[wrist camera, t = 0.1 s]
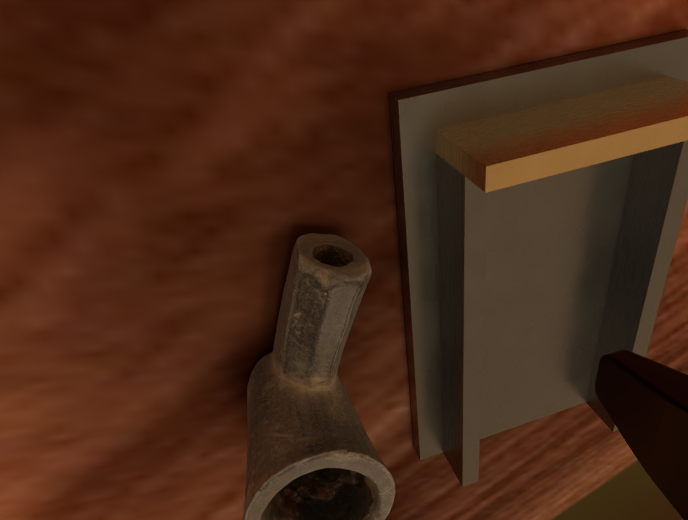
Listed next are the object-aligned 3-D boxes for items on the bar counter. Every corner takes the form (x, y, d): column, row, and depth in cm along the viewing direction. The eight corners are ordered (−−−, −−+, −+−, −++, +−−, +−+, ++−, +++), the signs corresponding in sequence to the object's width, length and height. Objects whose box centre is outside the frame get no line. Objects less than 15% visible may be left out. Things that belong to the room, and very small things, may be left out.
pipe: (376, 226, 25) (458, 336, 18) (324, 429, 31) (372, 567, 24) (240, 219, 22) (279, 341, 16) (213, 439, 28) (233, 593, 22)
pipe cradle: (608, 379, 36) (667, 437, 32) (413, 447, 34) (450, 519, 30) (685, 29, 24) (795, 51, 20) (388, 93, 21) (445, 134, 17)
